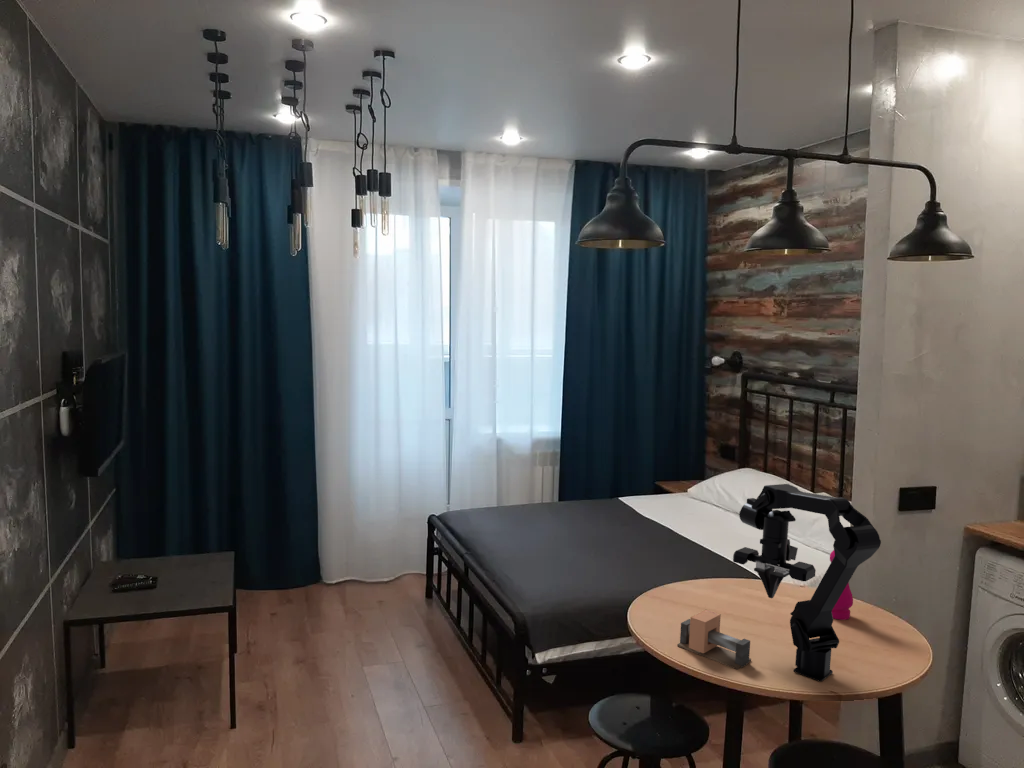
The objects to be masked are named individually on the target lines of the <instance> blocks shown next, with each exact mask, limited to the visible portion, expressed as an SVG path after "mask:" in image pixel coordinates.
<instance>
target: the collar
mask: <svg viewBox="0 0 1024 768" xmlns="http://www.w3.org/2000/svg"><path fill="white" fill-rule="evenodd" d="M721 615H722V614H720V613H717V612H715V611H711V610H710V609H709V610H708V609H704V610H701V611H700V612H698V613H696V614H694V615H691V616H690V618H689V619H690V635H689V648H690V649H693V650H696V651H698V652H701V653H703V654H704V653H705V652H707V651H709V650H711V649H712V648H714V647H716V646H718V645H716V644H713V643H710V642H708V632H709V631H711V630H714V631H717V632H720V633H721V617H722V616H721ZM718 647H719V646H718Z"/></svg>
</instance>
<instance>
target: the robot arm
mask: <svg viewBox="0 0 1024 768" xmlns="http://www.w3.org/2000/svg"><path fill="white" fill-rule="evenodd" d="M779 509H781V510H782V509H795V510H799V511H805V512H808V513H809V512H810V513H814V514H820V515H825V517H826V519H827V522H828V523H827V524H828V531H829V533H830V535H831V536H832V537H833V539H834V541H833V544H832V545H833V546H832V547H833V550H834V552H835V556H834V558H833V560H832V562H831V561H830V563H829V566H828V567H827V569H826V571H825V573H824V574H823V576H822V578H821V580H820V582H819V584H818V585H817V587H816V589H815V591H814V593H813V595H812V596H811V597H810V599H808V600H807V599H806V600H801V601H797V602H796V603H795V606H794V608H793V610H792V612H790V616H791V617H790V618H789V619H790V620H789V626H790V632H791V639H792V645H793V646H794V647H796V651H795V663H794V666H795V668H794V669H793V672H794V673H796V674H799V675H802V676H805V677H808V678H810V679H812V680H816V681H818V682H823V681H824V680H825V679H827V678H828V677H830V676H831V675H832V674H833V673H834V672H833V670H832V669H831V660H832V649H837V648H838V646H839V644H840V639H839V638H838V635H837V633H836V632H835V629H834V628H833V623H834V618H833V616H832V610H833V608H834V606H835V604H836V603H837V601H838V599H839V597H840V596H841V594H842V592H843V591H844V589H845V587H846V585H847V584H848V582H849V583H850V581H851V579H852V577H853V575H854V574H855V571H856V570H857V568H858V567H859V566H860V565H861V564H863V563H865V562H866V561H867V560H869V559H870V558H872V556H873V555H874V554H875V553H876V552H877V551H878V550H879V549H880V547H881V543H882V540H881V539H880V534H879V533H878V531H877V529H876V528H875V527H874V525H873V524H872V522H871V521H870V520H869V518H867V517H866V516H865V515H863V514H862V513H861V512H859V511H858V510H857V509H856V508H854V506H853V505H852V503H851V502H850V500H849V499H848V498H845V497H841V496H840V497H834V496H829V495H823V494H817V493H811V492H805V491H803V490H800V489H798V487H796V486H794V485H792V484H789V483H780V484H767V485H764V486H763V488H762V490H761V491H760V493H759V495H758V496H757V498H754V497H750V498H749V497H747V499H746V503H745V504H743V505H742V506H741V508H740V511H739V515H738V516H739V519H740V522H742V523H743V524H745V525H747V526H749V527H752V528H755V529H758V530H759V531H762V538H760V539H759V544H760V545H761V554H760V553H759V551H758V549H754V548H750V547H748V546H747V547H745V546H744V547H742V548H740V549H737V550H735V552H734V553H733V556H732V557H733V558H732V561H733V563H735V564H739V565H745V564H747V563H749V562H748V561H750V562H753V563H755V567H754V568H753V571H754V572H756V573H757V575H758V576H759V578H760V580H761V582H762V584H763V587H764V590H765V592H766V594H767V597H768V598H769V599H774V597H775V595H776V593H777V591H778V589H779V588H780V584H781V582H782V581H783V579H784V578H786V577H788V576H790V578H791V579H793V580H797V581H800V582H808V581H810V580H812V579H813V578H814V577H815V578H816V572H817V571H816V568H815V566H814V565H813V564H810V563H806V562H803V561H797V562H795V563H789V562H790V561H791V560H793V561H796V559H797V555H798V550H799V549H798V547H796V546H793V545H791V540H790V539H788V537H789V524H790V523H791V522H796V520H797V519H796V517H795V516H794V515H793V514H792V513H791V511H790V510H782V511H781V510H779ZM841 517H842V518H843V519H844V520H845V521H847V522H848V523H849V524H850V526H843V524H842V522H841V519H840V518H841ZM759 554H760V555H759Z"/></svg>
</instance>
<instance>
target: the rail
mask: <svg viewBox="0 0 1024 768" xmlns="http://www.w3.org/2000/svg"><path fill="white" fill-rule="evenodd" d="M679 635H680V637H679V643H677V647H679V648H681V649H684V650H686V651H689V652H692V653H694V654H696V655H700V656H702V657H704V658H708V659H710V660H712V661H714V662H717V663H720V664H722V665H725V666H727V667H730V668H734V669H735V670H739V669H741V668H744V667H745V666H746V665H748V664H749V663H750V662H752V658H750V654H751V653H750V651H751V650H750V649H751V640H749V639H746V638H742V639H739V638H736V637H734V636H730V635H728V634H725V633H723V632H721V631H720V632H717V631H714V630H711V631H709V632H708V642H710V643H713V644H716V645H718V646H716V647H714V648H712V649H711V650H709V651H707V652H705V653H704V654H703V653H701V652H698V651H696V650H693V649H690V648H689V635H690V618H688V619H686V620H684V621H682V622H680V633H679Z"/></svg>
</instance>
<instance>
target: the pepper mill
mask: <svg viewBox="0 0 1024 768" xmlns="http://www.w3.org/2000/svg"><path fill="white" fill-rule="evenodd" d="M834 556H835V552H834V549H833V550H832V551H831V552H830V555H829V561H830V563H831V562H832V560H833V558H834ZM853 605H854V596H853V593H852V590H851V587H850V581H849V582H848V584H847V585H846V587H845V589H844V591H843V592H842V594H841V596H840V597H839V599H838V601H837V603H836V604H835V606H834V608H833V610H832V616H833V620H834V619H835V620H839V621H840V620H841V621H842V620H843V621H846V620H849V619H850V618H851V610H850V608H851V607H852V606H853Z"/></svg>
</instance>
